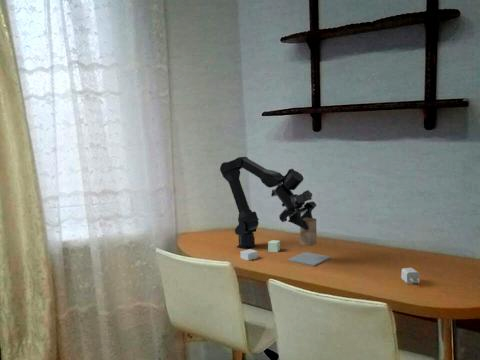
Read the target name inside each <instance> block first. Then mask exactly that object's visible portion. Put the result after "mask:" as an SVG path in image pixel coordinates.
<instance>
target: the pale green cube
mask: <svg viewBox="0 0 480 360" xmlns="http://www.w3.org/2000/svg"><path fill="white" fill-rule="evenodd" d="M267 245H268V246H267V250H268V251H267V252H271V253H278V252H279V251H280V250H281V241H280V240H277V239H276V240H275V239H270V240H269V241H268V242H267Z"/></svg>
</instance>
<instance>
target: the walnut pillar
mask: <svg viewBox="0 0 480 360" xmlns="http://www.w3.org/2000/svg"><path fill="white" fill-rule="evenodd" d="M303 220H304V222H305V223H306V225H307V226H308V228H309V229H308V230H305V229H303V228H302V227H300V226H299V228H300V229H299V231H300V232H299V235H300V239H299V241H300V246H306V247H312V246H314V245H317V243H318V242H317V237H318V236H317V218H314V217H313V218H307V217H306V218H303Z"/></svg>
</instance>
